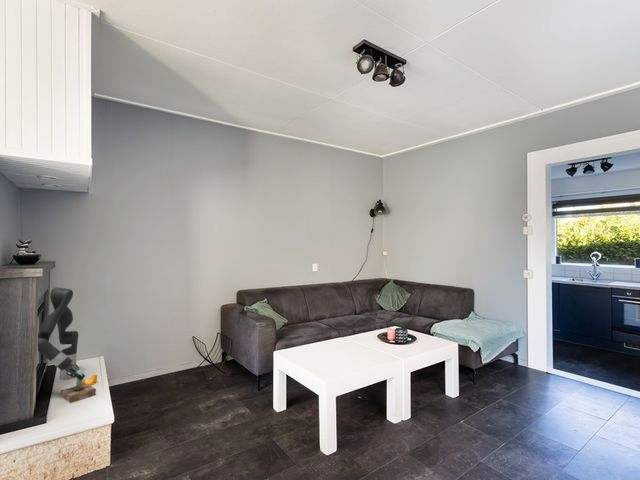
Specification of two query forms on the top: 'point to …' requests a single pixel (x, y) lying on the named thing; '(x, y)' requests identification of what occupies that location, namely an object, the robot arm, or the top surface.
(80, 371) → the teal peg
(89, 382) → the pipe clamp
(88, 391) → the walnut socket block
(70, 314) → the robot arm
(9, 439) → the top surface
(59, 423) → the top surface
